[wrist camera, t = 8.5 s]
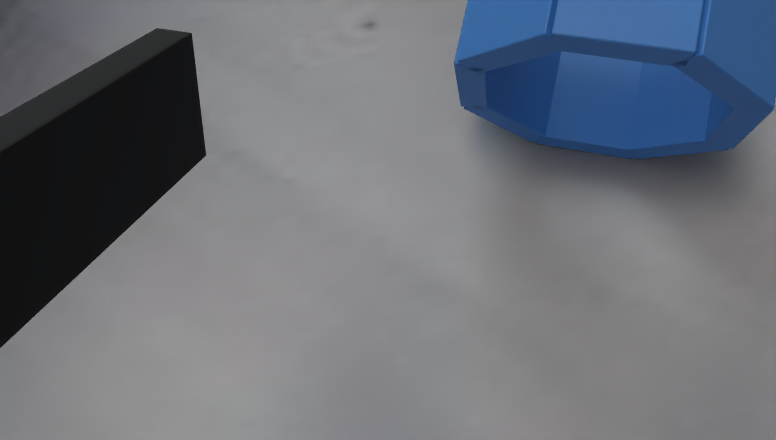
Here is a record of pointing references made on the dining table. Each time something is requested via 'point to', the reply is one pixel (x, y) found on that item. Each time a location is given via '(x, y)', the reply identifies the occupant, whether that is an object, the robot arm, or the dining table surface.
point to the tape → (620, 72)
